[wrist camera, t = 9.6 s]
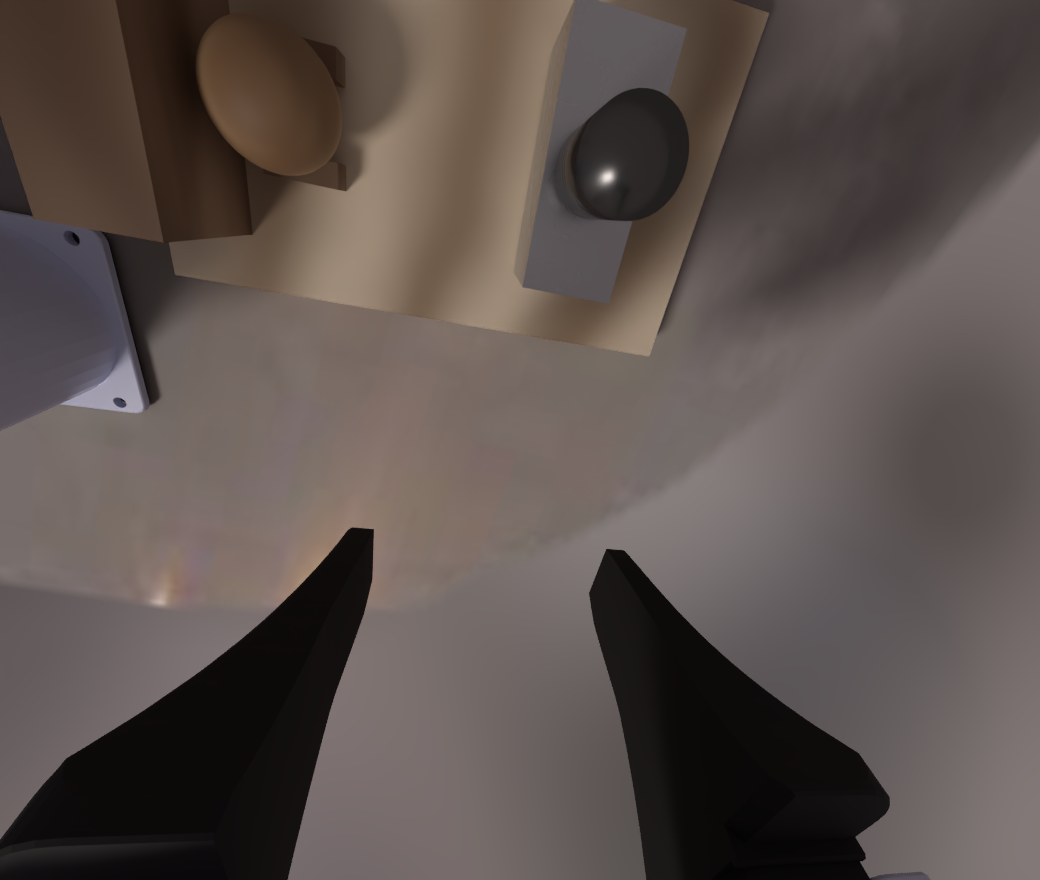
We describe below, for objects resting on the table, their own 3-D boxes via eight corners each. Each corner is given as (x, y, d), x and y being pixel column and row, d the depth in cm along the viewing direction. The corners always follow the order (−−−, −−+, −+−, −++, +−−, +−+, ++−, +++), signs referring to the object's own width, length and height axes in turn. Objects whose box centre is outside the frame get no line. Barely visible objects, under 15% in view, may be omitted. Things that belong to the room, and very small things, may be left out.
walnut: (245, 166, 14) (177, 152, 11) (231, 26, 12) (145, -39, 9) (355, 190, 14) (321, 183, 11) (355, 59, 13) (315, 9, 10)
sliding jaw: (513, 272, 17) (535, 309, 10) (551, 50, 14) (619, -103, 7) (582, 285, 17) (645, 329, 11) (635, 74, 14) (771, -47, 8)
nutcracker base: (197, 270, 17) (59, 298, 11) (123, -176, 12) (-216, -547, 6) (638, 347, 20) (698, 398, 15) (743, 30, 15) (905, -82, 9)
